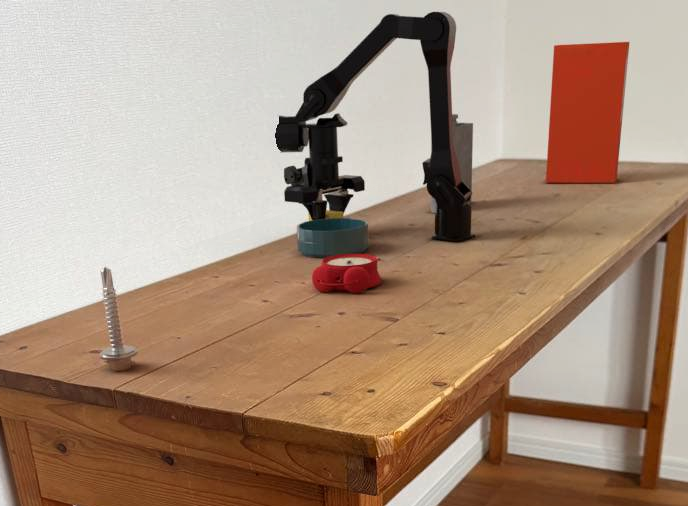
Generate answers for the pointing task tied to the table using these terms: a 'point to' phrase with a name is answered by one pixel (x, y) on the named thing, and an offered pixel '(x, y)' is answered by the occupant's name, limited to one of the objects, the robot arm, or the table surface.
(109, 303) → the screw
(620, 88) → the file binder
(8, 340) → the table surface
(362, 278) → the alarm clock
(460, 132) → the hip flask
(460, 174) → the robot arm
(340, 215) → the sponge
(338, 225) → the bowl
